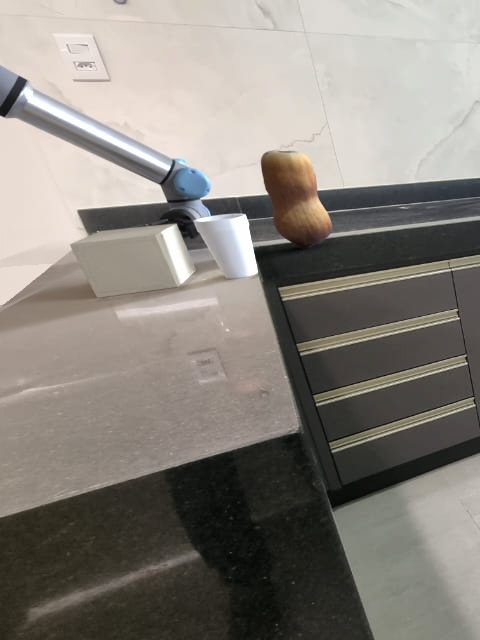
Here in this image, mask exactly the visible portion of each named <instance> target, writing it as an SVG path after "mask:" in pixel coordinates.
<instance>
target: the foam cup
mask: <svg viewBox="0 0 480 640" xmlns="http://www.w3.org/2000/svg"><path fill="white" fill-rule="evenodd" d="M193 222H194V224H195V226H196V229H197V231H198V232H199V233H200V235H199V236H200V237H201V239H202V240H203V242H204V243H205V246H206V248H207V249H208V250H209V252H210V254H211V256H212V258H213V259H214V261H215V262H216V264H217V266H218V268H219V270H220V271H221V273H222V275H223V276H224V278H225V279H231V280H232V279H242V278H246V277H252V276H255V275H256V274H258V266H257V261H256V256H255V252H254V246H253V242H252V237H251V232H250V223H249V220H248V218H247V215H246V213H226V214H216V215H211V216H209V217H204V218H199V219H196V220H194V221H193Z"/></svg>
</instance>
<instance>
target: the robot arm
mask: <svg viewBox="0 0 480 640" xmlns="http://www.w3.org/2000/svg"><path fill="white" fill-rule="evenodd" d="M0 117H2V118H4V119H7V120H8V119H17V120H19V121H21V122H23V123H26V124H27V125H30V126H32V127H34V128H36V129H39V130H41V131H42V132H45V133H47V134H50V135H51V136H54V137H56V138H58V139H60V140H62V141H64V142H66V143H69V144H71V145H73V146H75V147H77V148H79V149H82V150H84V151H86V152H87V153H90V154H92V155H94V156H97V157H98V158H100V159H103V160H105V161H107V162H108V163H109V162H110V163H112V164H114V165H116V166H118V167H120V168H123V169H125V170H127V171H129V172H131V173H133V174H136V175H138V176H140V177H141V178H144V179H146V180H148V181H150V182H153V183H155V184H157V185H159V186H160V187H161V191H162V192H163V195H164V197H165V200H166V202H167V206H168V207H169V209H168V210H167V211H165V212H162V213H161V215H160V216H159V219H158V221H155V222H149V223H148V224H147V223H146V222H145V223H140V224H138V225H135V226H130V227H125V228H124V229H127V228H137V227H147V226H157V225H167V224H177V226H178V228H179V230H180V232H181V236H182V238H183V240H184V239H188V238H189V239H190V240H195V239H196V238H198V237H199V236H201V235H200V233H199V232H198V231H197V229H196V226H195V224H194V222H193V221H194V220H196V219H199V218H204V217H209V216H212V215H211V212H210V210H209V209H208V207H206V206H205V205H204V204H203V202H202V198H204V197H206V196H208V194H210V192H211V189H212V184H211V181H210V179H209V177H208V176H207V175H206V174H204V173H203V172H202V171H201V170H198V169H196V168H193V167H190V166H188V164H187V161H185V160H184V159H183V158H171V157H169V156H168V155H166V154H164V153H162V152H160V151H157V150H156V149H154V148H152V147H150V146H148V145H146V144H144V143H142V142H140V141H138V140H136V139H134V138H132V137H130V136H129V135H126V134H125V133H122V132H120V131H118V130H117V129H114V128H112V127H110V126H108V125H106V124H105V123H103V122H101V121H98V120H97V119H95V118H93V117H91V116H89V115H87V114H85V113H83V112H81V111H79V110H77V109H75V108H73V107H72V106H69V105H68V104H66V103H63V102H62V101H59V100H58V99H55V98H53V97H52V96H49V95H48V94H46V93H43V92H42V91H40V90H38V89H35V87H34V86H33V85H32V83H31V81H30V80H29V79H26V78H25V77H22V76H21V75H19V74H17V73H15V72H13V71H12V70H10V69H8V68H6V67H5V66H3V65H1V64H0Z"/></svg>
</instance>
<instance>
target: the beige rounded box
mask: <svg viewBox="0 0 480 640" xmlns="http://www.w3.org/2000/svg"><path fill="white" fill-rule="evenodd" d="M126 228H127V229H125V228H118V229H108V230H100V231H97V232H95V233H93V234H89V235H88V236H86V237H83V238H81V239H78V240H76V241H73V242H71V243H69V246H70V249H71V250H72V253H73V254H74V256H75V258H76V261H77V262H78V264H79V265H80V267H81V268H80V269H82V272H83V274H84V276H85V277H86V280H87V281H88V283H89V285H90V287H91V289H92V291H93V293H94V295H95V297H96V298H97V299H100V298H107V297H114V296H122V295H130V294H137V293H145V292H152V291H160V290H166V289H173V288H174V289H175V288H179V287H180V286H182V284H183V283H184V282H185V281H186V280H187V279H189V278H190V277H191V276H192V275H193V274H194V273H196V272H197V270H196V267H195V265H194V262H193V260H192V257H191V255H190V252H189V249H188V247H187V245H186V243H185V241H184V239H183V238H182V236H181V233H180V231H179V228H178V226H177V224H167V225H157V226H147V227H137V228H129V227H126Z"/></svg>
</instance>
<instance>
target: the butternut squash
mask: <svg viewBox="0 0 480 640" xmlns="http://www.w3.org/2000/svg"><path fill="white" fill-rule="evenodd" d="M260 168H261V174H262V179H263V185H264V189H265V191H266V193H267V194H268V196H269V199H270V201H271V205H272V222H273V225H274V228H275V229H276V231H277V233H278V234H279V235H280V236H281V237H282V238H284V239H285V240H287V241H288V242H290V243H291V244H293V245H295V246H296V247H297V248H299V249H301V250H307V249H310V248H312V247H315V246H319V245H321V244H322V243H323V242H324V241H325V240H327V238H328V237H329V236H330V235H331V233H332V231H333V224H332V221H331V217H330V216H329V215H330V214H329V213H328V211H327V210H326V209H325V206H324V205H323V204H322V202H321V200H320V199H319V195H318V183H317V176H316V172H315V170H314V169H315V168H314V166H313V164H312V161H311V159H310V157H308V155H306V154H305V153H303V152H301V151H298V150H278V149H277V150H276V149H273V150H268V151H265V152H264V153H263V154H262V156H261V158H260Z"/></svg>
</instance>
